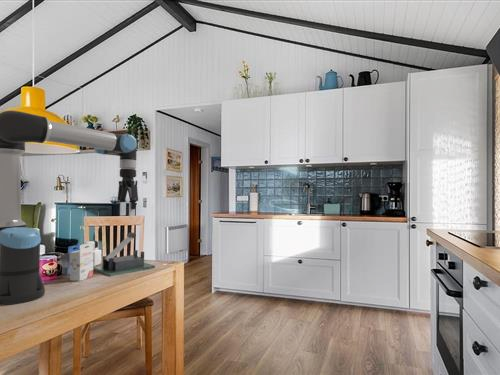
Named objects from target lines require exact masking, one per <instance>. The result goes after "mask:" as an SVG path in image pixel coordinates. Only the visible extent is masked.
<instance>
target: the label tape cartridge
mask: <svg viewBox="0 0 500 375" xmlns="http://www.w3.org/2000/svg"><path fill="white" fill-rule="evenodd" d="M80 245H82V243H80V244H76V245H70V246H68V247H67V252H66V253H64V254H62V255H60V262H61V261H62V274H61V275H70V252H74V251H78V250H80V247H79V246H80ZM61 258H62V260H61Z"/></svg>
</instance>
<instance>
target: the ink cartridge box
mask: <svg viewBox="0 0 500 375" xmlns="http://www.w3.org/2000/svg"><path fill="white" fill-rule="evenodd" d="M86 246H89V247H88V248H85V247H86ZM79 247H80V250H78V251H74V252H70V274H69V281H73V282H74V281H75V282H77V281H78V282H81V281H84V280H86V279H89V278H93V277H94V270H93V267H94V266H93V253H94V250H93V243H88V244H85V243H84V244H81V245H80V246H79Z"/></svg>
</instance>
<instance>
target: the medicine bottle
mask: <svg viewBox="0 0 500 375" xmlns="http://www.w3.org/2000/svg"><path fill="white" fill-rule="evenodd" d="M88 243H93V250H94V253H93V267H97V266H98V265H99V266H100V264H102V249H99V242H98V241H97V240H87V241H85V242H84V244H88ZM88 247H89V246H86V247H84V248H88Z"/></svg>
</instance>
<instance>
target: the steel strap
mask: <svg viewBox="0 0 500 375" xmlns="http://www.w3.org/2000/svg"><path fill="white" fill-rule="evenodd" d="M136 236H137V235H136V234H135V232H132V231H131V232H128V233H127V234H126V237H125V238H124V239H123V240H122V241H121V242H120V243H119V244H118V245H117V246H116V247H115V248H114V249H113V250H112V251H111V252H110V253H109V254H108V255H106V256H107V257H105V258H104V259H105V260H107V261H109V258H115V257H117V255H118V254H119V253H120V252H121V251H122V250H123V249H124V248H125V247H126V246H127V245H128V244H129V243H130V242H131V241H132V240H133V239H134V238H135V237H136Z"/></svg>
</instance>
